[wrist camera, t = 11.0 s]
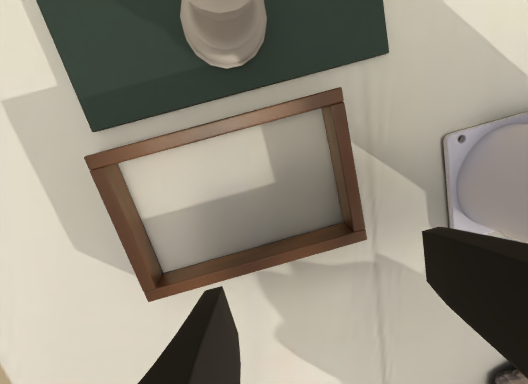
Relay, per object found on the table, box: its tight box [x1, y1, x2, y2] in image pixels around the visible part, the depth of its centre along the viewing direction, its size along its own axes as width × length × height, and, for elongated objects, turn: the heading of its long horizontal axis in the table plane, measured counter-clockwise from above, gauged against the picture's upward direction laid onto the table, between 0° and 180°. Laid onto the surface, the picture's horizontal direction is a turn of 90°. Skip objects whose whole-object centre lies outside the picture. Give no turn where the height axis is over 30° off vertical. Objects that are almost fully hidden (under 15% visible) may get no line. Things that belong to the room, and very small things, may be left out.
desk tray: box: [84, 87, 367, 302], centre depth 17 cm, size 15×10×2 cm, turn 105°
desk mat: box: [36, 0, 389, 132], centre depth 15 cm, size 18×7×1 cm, turn 105°
